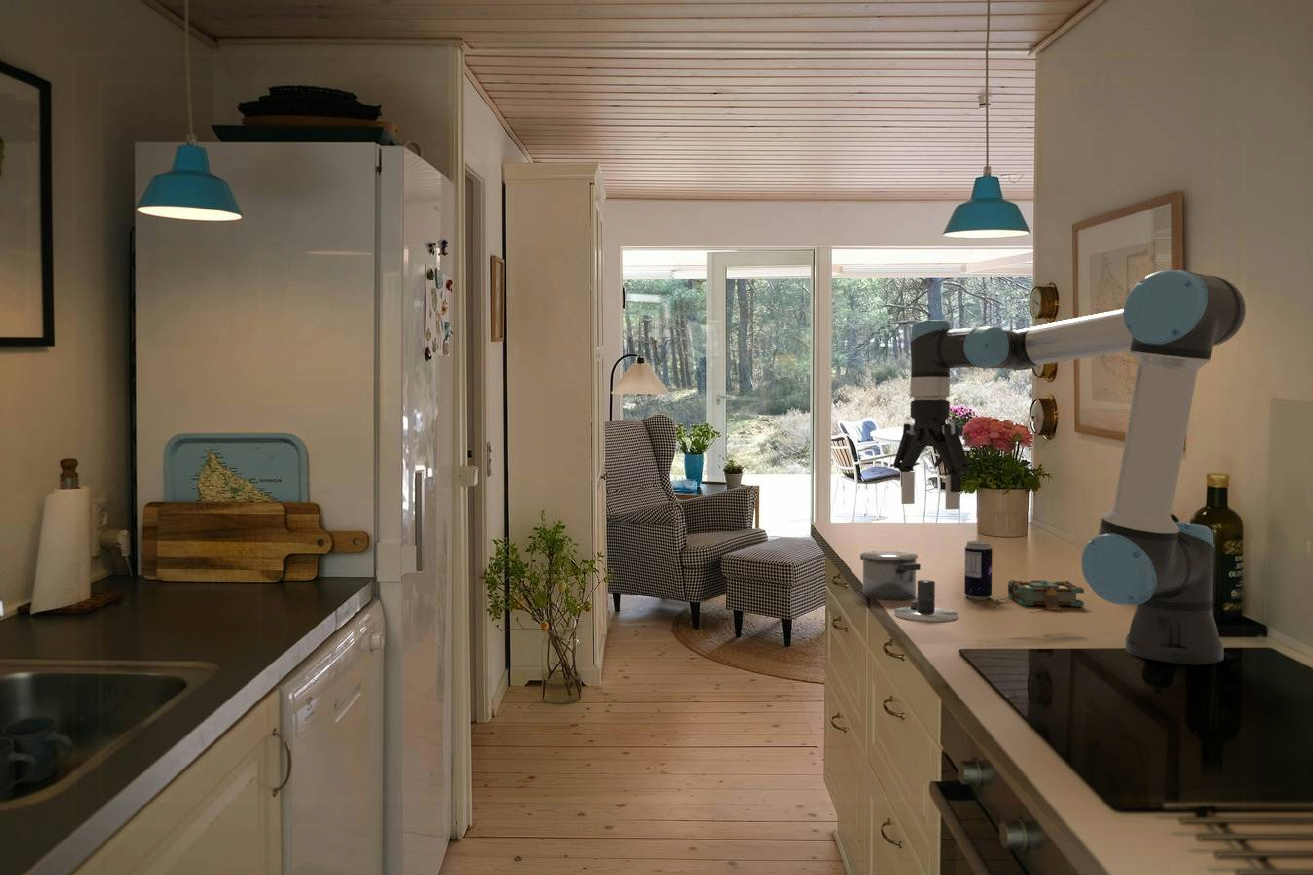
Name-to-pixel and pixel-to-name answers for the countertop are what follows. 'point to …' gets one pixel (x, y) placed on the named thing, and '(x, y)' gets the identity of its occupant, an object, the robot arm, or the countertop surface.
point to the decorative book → (1044, 593)
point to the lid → (925, 606)
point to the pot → (889, 575)
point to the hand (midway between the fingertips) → (929, 506)
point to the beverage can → (978, 570)
